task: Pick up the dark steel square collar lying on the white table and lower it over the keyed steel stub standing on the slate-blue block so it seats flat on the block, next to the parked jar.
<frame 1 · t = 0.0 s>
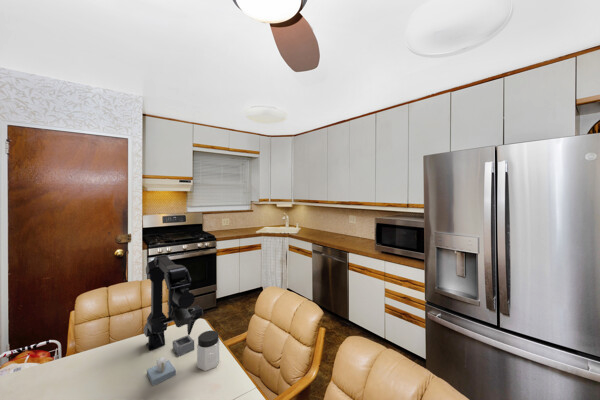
hand: (176, 339, 96), 15 cm above the table, fingers open, 9 cm apart
jar: (208, 364, 103), on the table
shaft block: (161, 374, 97), on the table
collar: (183, 349, 112), on the table
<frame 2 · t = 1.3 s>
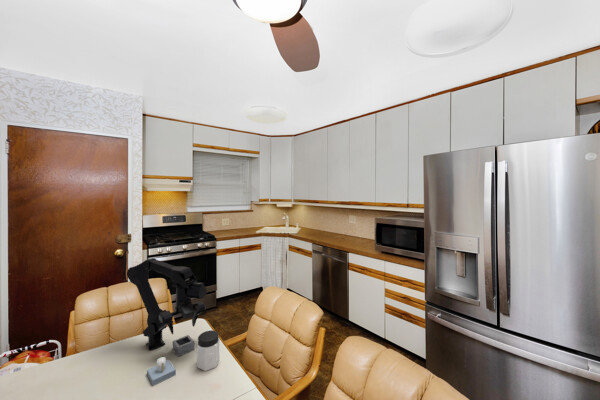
hand: (183, 330, 112), 9 cm above the table, fingers open, 9 cm apart
nothing on the table moved.
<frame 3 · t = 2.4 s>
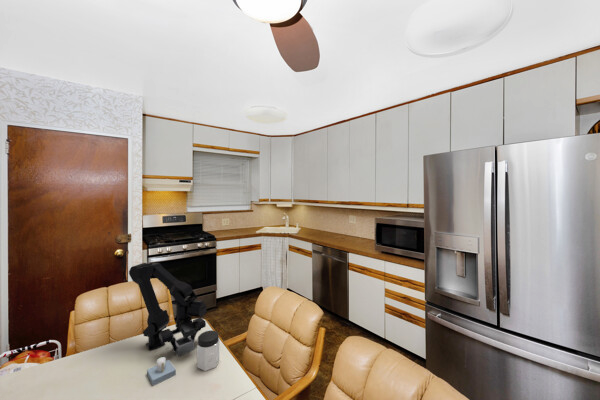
hand: (183, 347, 112), 1 cm above the table, fingers closed on collar, 7 cm apart
collar: (183, 349, 112), on the table, touching gripper
everything else where it was.
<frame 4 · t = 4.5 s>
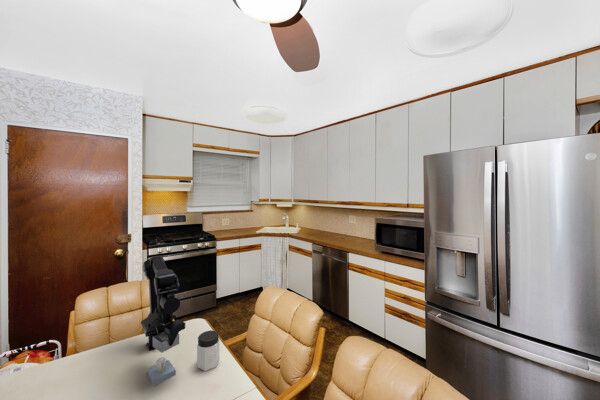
hand: (166, 342, 99), 11 cm above the table, fingers closed on collar, 7 cm apart
collar: (166, 345, 99), point 10 cm above the table, touching gripper
everything else where it was.
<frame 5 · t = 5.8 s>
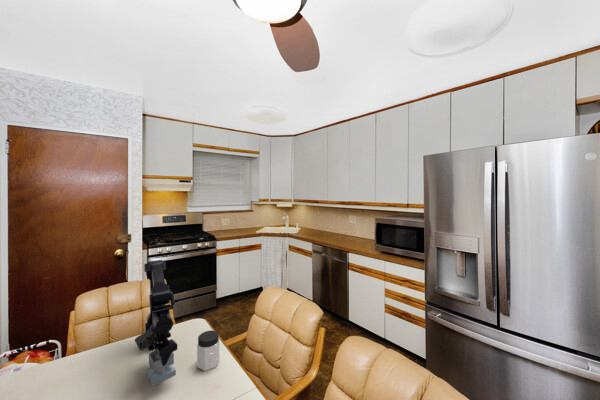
hand: (161, 360, 97), 5 cm above the table, fingers closed on collar, 7 cm apart
collar: (161, 363, 97), point 4 cm above the table, touching gripper
everything else where it was.
when the fingers open (4 cm above the table, at t = 6.7 s): collar stays where it is, resting on shaft block.
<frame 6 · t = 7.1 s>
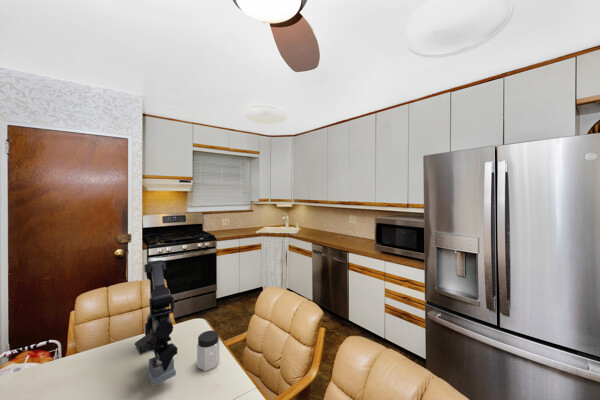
hand: (161, 364, 97), 4 cm above the table, fingers open, 9 cm apart
collar: (161, 369, 97), point 2 cm above the table, touching shaft block
everything else where it was.
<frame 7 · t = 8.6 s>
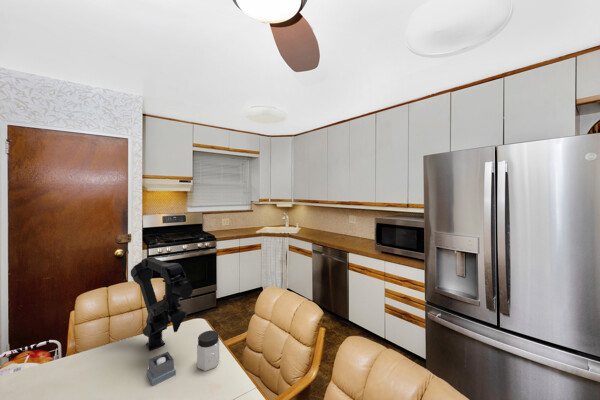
hand: (172, 327, 109), 12 cm above the table, fingers open, 9 cm apart
nothing on the table moved.
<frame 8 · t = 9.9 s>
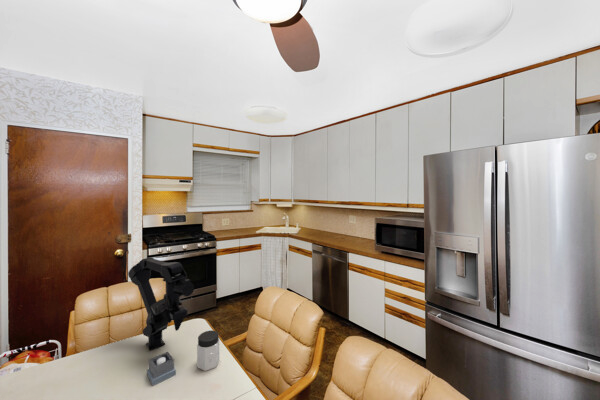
hand: (173, 326, 110), 12 cm above the table, fingers open, 9 cm apart
nothing on the table moved.
at the end: collar 0.1 cm off-centre on the shaft block, point 2.0 cm above the shaft block's base; collar tilted 0°; the gripper is holding nothing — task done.
